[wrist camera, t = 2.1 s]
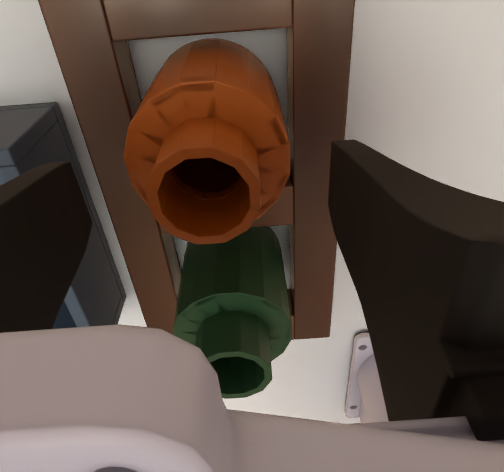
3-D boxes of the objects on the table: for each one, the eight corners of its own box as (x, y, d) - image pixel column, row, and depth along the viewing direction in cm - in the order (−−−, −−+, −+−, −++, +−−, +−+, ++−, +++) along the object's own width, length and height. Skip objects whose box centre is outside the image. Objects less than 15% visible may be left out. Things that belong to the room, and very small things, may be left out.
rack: (344, -54, 14) (359, -52, 12) (323, 310, 25) (329, 337, 23) (52, -30, 14) (28, -25, 12) (159, 322, 25) (154, 349, 23)
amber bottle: (277, 155, 18) (297, 264, 12) (167, 163, 18) (133, 276, 12) (273, 33, 15) (298, 99, 9) (141, 43, 15) (81, 115, 9)
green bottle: (281, 283, 23) (297, 407, 17) (194, 290, 23) (179, 415, 17) (279, 210, 20) (297, 329, 14) (178, 217, 20) (154, 339, 14)
